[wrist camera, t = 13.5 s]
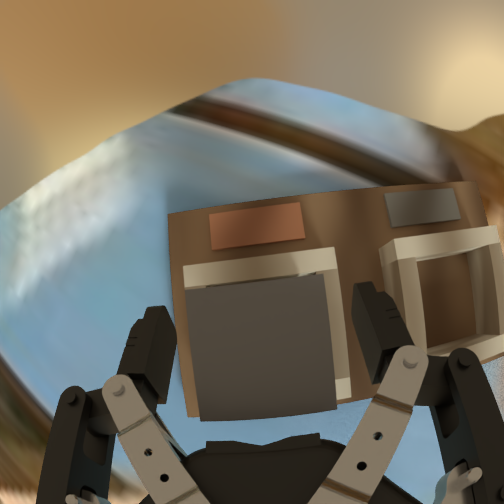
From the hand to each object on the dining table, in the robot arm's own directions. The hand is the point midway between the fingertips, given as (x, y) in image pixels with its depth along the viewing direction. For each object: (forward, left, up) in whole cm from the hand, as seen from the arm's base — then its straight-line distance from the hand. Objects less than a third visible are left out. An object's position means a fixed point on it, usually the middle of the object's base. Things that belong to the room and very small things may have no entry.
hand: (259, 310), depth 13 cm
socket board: (-6, 0, -8) cm, 10 cm away
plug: (0, +1, -7) cm, 7 cm away
